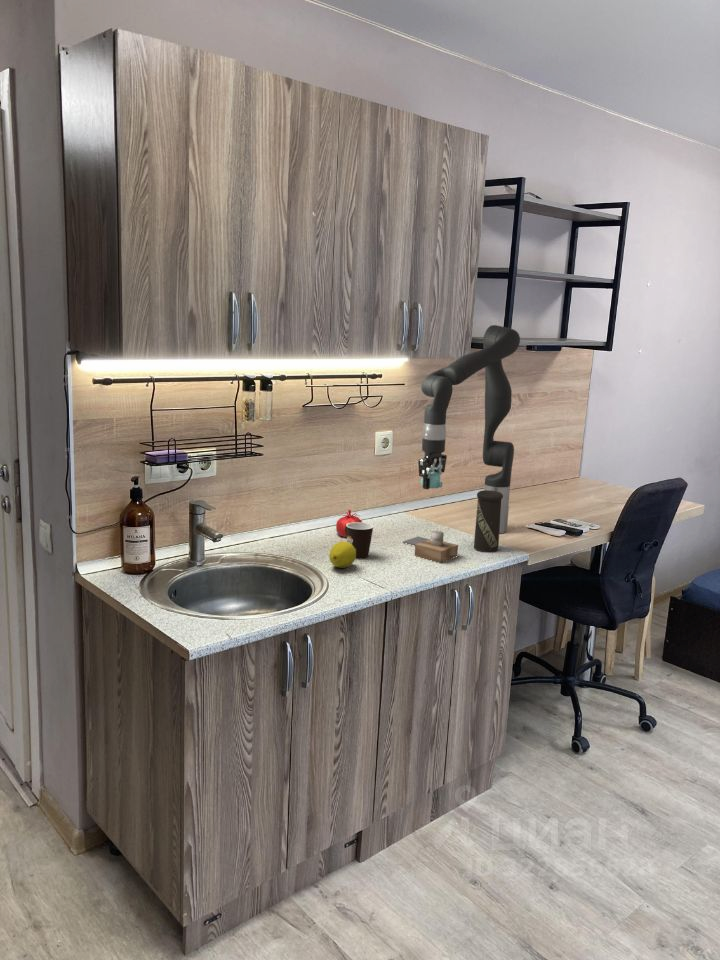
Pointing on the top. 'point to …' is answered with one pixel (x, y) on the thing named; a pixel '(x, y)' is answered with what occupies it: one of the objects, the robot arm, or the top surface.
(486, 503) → the container
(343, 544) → the lemon
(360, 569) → the top surface
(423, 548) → the post block
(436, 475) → the teal rounded tabbed figurine
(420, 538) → the coaster
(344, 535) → the pomegranate
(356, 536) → the coffee mug
